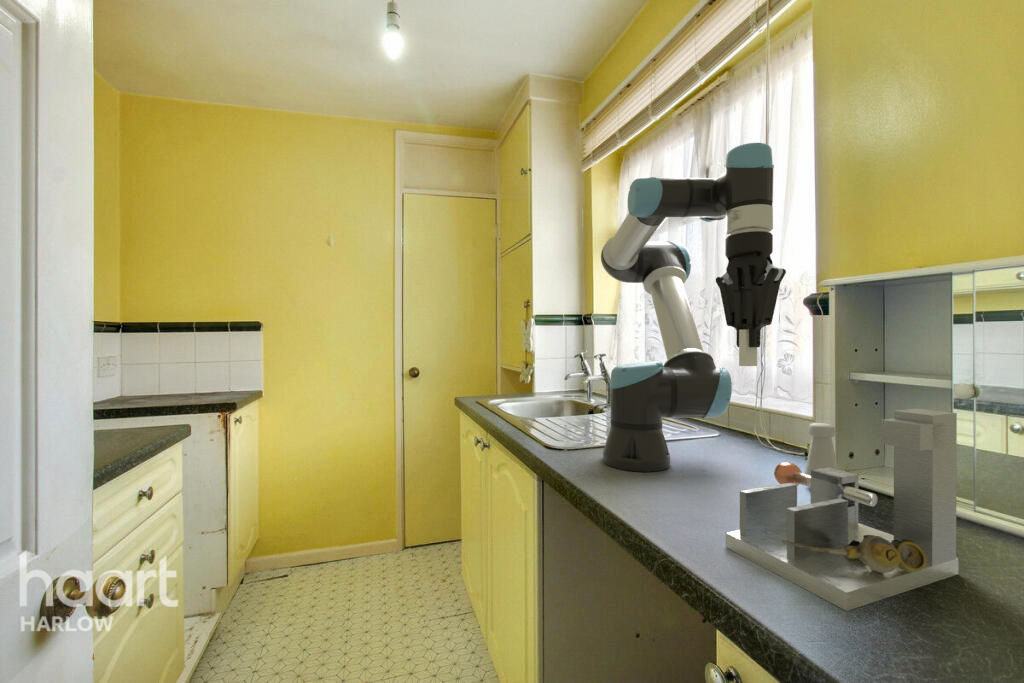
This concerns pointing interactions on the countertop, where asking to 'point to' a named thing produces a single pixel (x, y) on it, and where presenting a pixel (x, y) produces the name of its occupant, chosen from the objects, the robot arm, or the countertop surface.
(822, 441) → the salt shaker
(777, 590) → the countertop surface
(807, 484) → the lever
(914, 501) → the press
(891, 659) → the countertop surface
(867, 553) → the regulator
